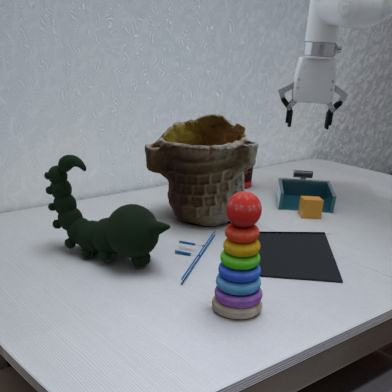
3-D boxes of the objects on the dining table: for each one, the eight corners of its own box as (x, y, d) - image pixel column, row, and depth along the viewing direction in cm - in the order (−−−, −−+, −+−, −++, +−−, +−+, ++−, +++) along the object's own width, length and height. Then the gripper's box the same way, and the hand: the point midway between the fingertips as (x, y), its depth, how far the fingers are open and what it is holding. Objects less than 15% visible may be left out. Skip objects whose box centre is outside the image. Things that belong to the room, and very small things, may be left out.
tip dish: (324, 193, 135) (328, 171, 132) (332, 215, 122) (337, 191, 119) (275, 189, 136) (278, 168, 133) (278, 211, 123) (281, 187, 119)
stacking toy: (221, 293, 85) (230, 180, 75) (267, 304, 82) (282, 188, 72) (204, 314, 79) (211, 194, 68) (252, 326, 76) (267, 203, 66)
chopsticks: (153, 272, 87) (182, 277, 86) (191, 225, 107) (215, 229, 107) (153, 279, 88) (181, 285, 87) (191, 232, 108) (214, 236, 107)
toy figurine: (48, 261, 96) (159, 281, 86) (27, 158, 87) (150, 166, 76) (79, 246, 104) (185, 263, 93) (63, 148, 94) (180, 155, 84)
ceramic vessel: (183, 209, 95) (151, 83, 96) (150, 248, 118) (124, 146, 118) (284, 196, 103) (254, 80, 104) (235, 235, 126) (211, 140, 127)
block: (319, 196, 120) (323, 200, 116) (316, 215, 122) (320, 220, 118) (300, 195, 119) (304, 199, 115) (297, 214, 122) (301, 219, 118)
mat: (319, 220, 119) (319, 218, 119) (342, 282, 91) (343, 281, 90) (243, 214, 120) (243, 213, 120) (243, 275, 91) (243, 273, 91)
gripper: (352, 52, 124) (338, 126, 134) (282, 48, 125) (273, 123, 134) (358, 53, 118) (343, 132, 127) (284, 50, 119) (275, 128, 128)
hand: (307, 127), depth 131 cm, fingers open, 9 cm apart
